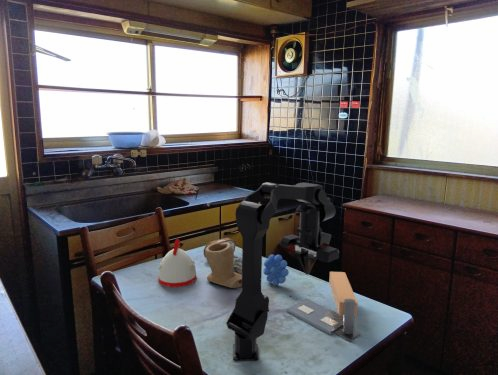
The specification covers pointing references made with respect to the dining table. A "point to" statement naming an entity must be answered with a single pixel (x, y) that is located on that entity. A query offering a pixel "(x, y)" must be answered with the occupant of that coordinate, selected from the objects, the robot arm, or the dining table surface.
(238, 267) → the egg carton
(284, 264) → the grapes
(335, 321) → the label plate
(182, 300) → the dining table surface
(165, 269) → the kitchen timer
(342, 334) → the grey flat block
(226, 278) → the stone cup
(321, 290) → the dining table surface
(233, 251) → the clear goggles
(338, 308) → the orange wooden beam
